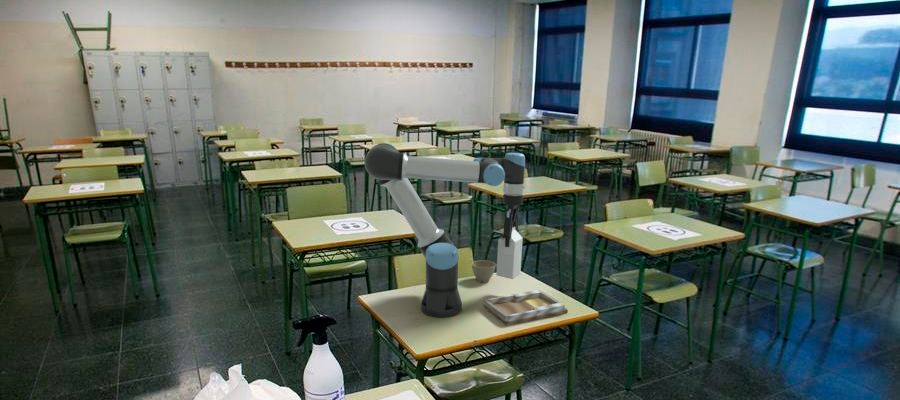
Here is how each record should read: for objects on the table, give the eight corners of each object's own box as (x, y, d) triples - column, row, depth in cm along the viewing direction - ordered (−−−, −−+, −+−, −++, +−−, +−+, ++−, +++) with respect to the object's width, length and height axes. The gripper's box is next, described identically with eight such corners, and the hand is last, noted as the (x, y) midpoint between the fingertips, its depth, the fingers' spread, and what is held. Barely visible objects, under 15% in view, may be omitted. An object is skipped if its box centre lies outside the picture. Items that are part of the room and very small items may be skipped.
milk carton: (520, 274, 204) (523, 228, 200) (512, 279, 198) (515, 231, 194) (504, 270, 208) (506, 225, 204) (496, 275, 202) (498, 228, 198)
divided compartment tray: (505, 325, 177) (506, 316, 176) (483, 307, 191) (483, 299, 191) (567, 312, 188) (568, 304, 187) (541, 296, 202) (542, 289, 201)
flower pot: (493, 285, 214) (494, 268, 212) (469, 283, 215) (469, 266, 214) (496, 276, 223) (496, 261, 222) (473, 274, 225) (473, 259, 224)
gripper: (516, 200, 185) (513, 260, 190) (528, 190, 204) (524, 245, 209) (496, 197, 188) (493, 257, 192) (509, 188, 207) (506, 243, 212)
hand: (509, 251), depth 201 cm, fingers closed on milk carton, 8 cm apart
